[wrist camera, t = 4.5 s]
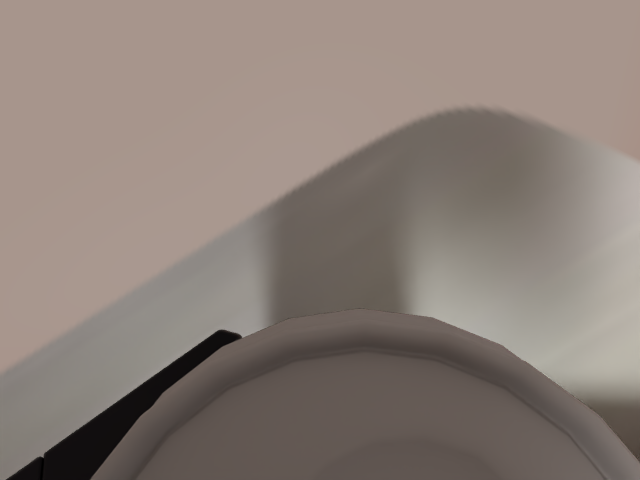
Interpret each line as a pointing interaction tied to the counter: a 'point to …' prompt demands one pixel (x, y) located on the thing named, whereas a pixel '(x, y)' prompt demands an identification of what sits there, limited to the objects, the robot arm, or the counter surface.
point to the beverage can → (367, 411)
